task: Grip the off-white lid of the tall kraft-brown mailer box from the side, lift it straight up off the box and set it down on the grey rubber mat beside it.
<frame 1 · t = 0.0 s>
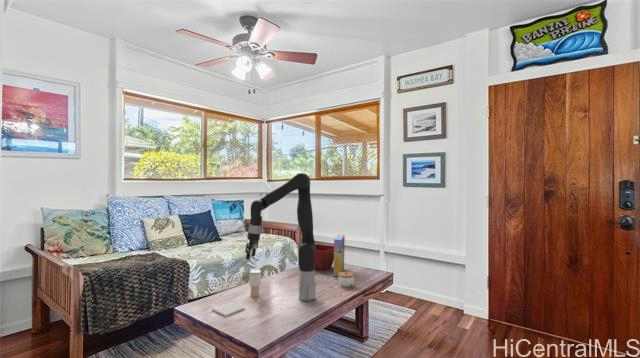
hand: (250, 257, 191), 22 cm above the table, tool pointing down, fingers open, 8 cm apart
game box: (338, 272, 237), on the table
lidded jar: (346, 285, 209), on the table
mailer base: (255, 295, 188), on the table
grey mat: (228, 309, 166), on the table
plant pot: (320, 268, 248), on the table
mailer lid: (255, 284, 188), point 6 cm above the table, touching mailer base
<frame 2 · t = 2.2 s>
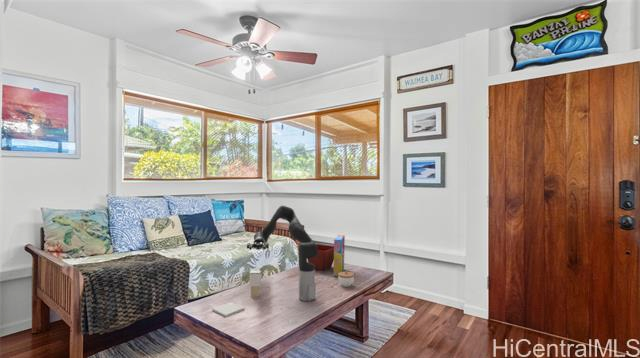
hand: (257, 248, 199), 26 cm above the table, tool horizontal, fingers open, 8 cm apart
nothing on the table moved.
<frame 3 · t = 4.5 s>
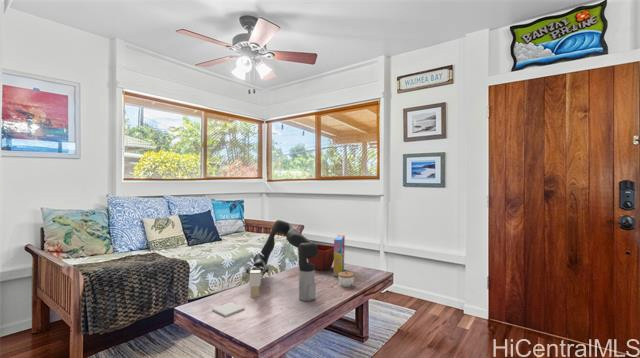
hand: (256, 273, 196), 11 cm above the table, tool horizontal, fingers open, 8 cm apart
nothing on the table moved.
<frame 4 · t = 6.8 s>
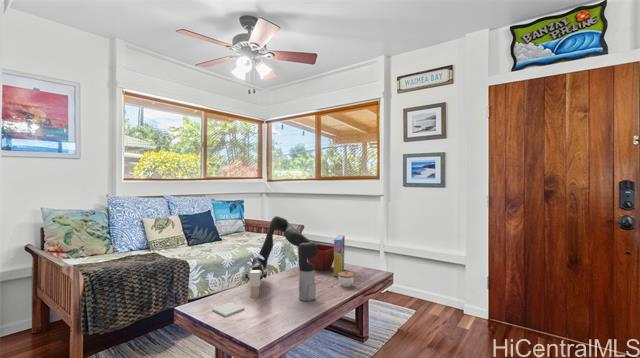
hand: (254, 278, 186), 11 cm above the table, tool horizontal, fingers closed on mailer lid, 6 cm apart
mailer lid: (255, 284, 188), point 7 cm above the table, touching gripper, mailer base
everything else where it was.
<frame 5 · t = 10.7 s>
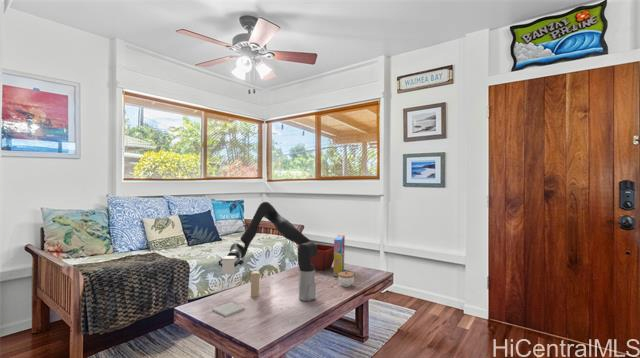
hand: (228, 265, 164), 25 cm above the table, tool horizontal, fingers closed on mailer lid, 6 cm apart
mailer lid: (229, 272, 167), point 20 cm above the table, touching gripper
everything else where it was.
when the fingers open (7 cm above the table, at t = 14.7 s): mailer lid drops 1 cm, resting on grey mat.
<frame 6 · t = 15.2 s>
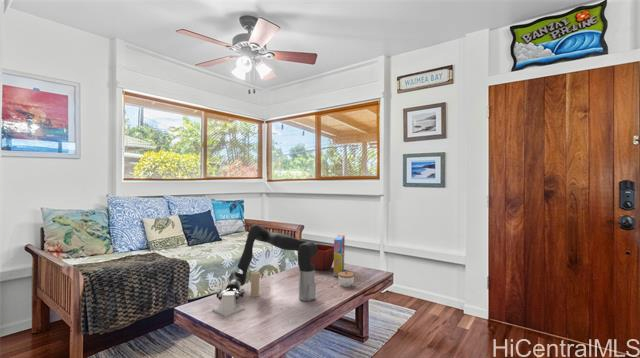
hand: (228, 298, 164), 7 cm above the table, tool horizontal, fingers open, 8 cm apart
mailer lid: (228, 308, 166), point 1 cm above the table, touching grey mat
everything else where it was.
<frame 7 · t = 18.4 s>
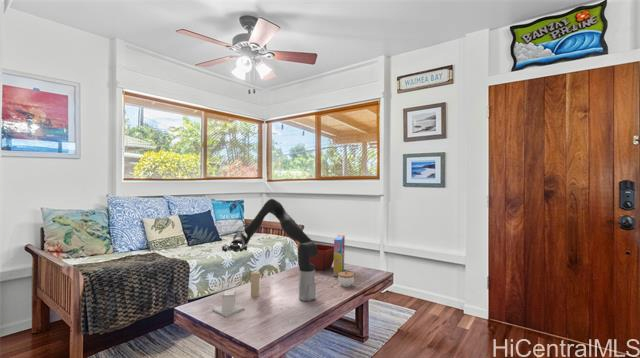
hand: (233, 250, 177), 30 cm above the table, tool horizontal, fingers open, 8 cm apart
nothing on the table moved.
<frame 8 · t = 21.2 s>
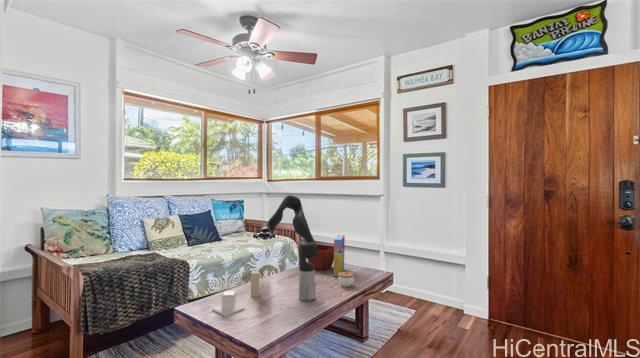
hand: (263, 237, 195), 34 cm above the table, tool horizontal, fingers open, 8 cm apart
nothing on the table moved.
at the end: mailer lid inside the target area on the grey mat (0.1 cm from its centre), point 1.0 cm above the grey mat's base; mailer lid tilted 0°; the gripper is holding nothing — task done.
